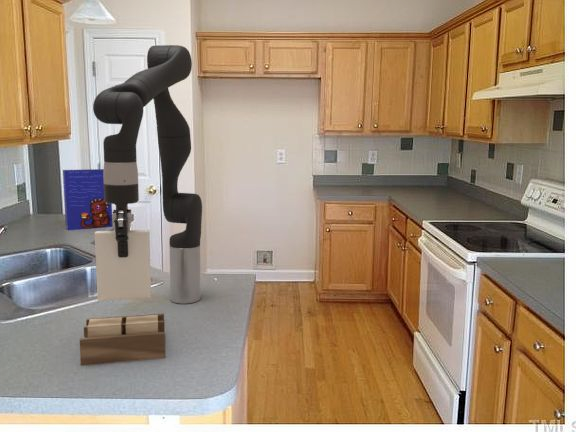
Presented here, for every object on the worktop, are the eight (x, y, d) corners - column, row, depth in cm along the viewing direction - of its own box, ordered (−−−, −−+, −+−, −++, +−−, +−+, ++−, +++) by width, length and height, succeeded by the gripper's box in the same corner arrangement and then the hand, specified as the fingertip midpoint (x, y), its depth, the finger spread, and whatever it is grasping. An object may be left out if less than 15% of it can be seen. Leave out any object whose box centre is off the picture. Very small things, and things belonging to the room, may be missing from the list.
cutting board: (98, 297, 120) (95, 231, 117) (151, 294, 123) (149, 229, 120) (97, 300, 117) (94, 233, 115) (151, 297, 120) (149, 231, 118)
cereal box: (109, 224, 270) (107, 168, 265) (112, 226, 265) (110, 169, 260) (65, 228, 258) (62, 169, 253) (67, 230, 253) (64, 170, 248)
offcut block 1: (91, 352, 117) (89, 319, 115) (123, 349, 118) (122, 317, 117) (88, 360, 112) (87, 326, 111) (122, 358, 114) (120, 324, 113)
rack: (88, 346, 123) (86, 318, 121) (164, 340, 127) (163, 313, 126) (80, 370, 111) (79, 340, 109) (165, 362, 115) (165, 333, 114)
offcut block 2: (127, 349, 119) (126, 316, 117) (158, 346, 121) (157, 314, 119) (126, 357, 114) (125, 324, 113) (158, 354, 116) (157, 321, 115)
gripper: (137, 185, 110) (139, 262, 113) (139, 178, 123) (140, 247, 126) (100, 185, 108) (103, 264, 111) (106, 178, 121) (109, 248, 124)
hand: (123, 255), depth 118 cm, fingers closed on cutting board, 2 cm apart
